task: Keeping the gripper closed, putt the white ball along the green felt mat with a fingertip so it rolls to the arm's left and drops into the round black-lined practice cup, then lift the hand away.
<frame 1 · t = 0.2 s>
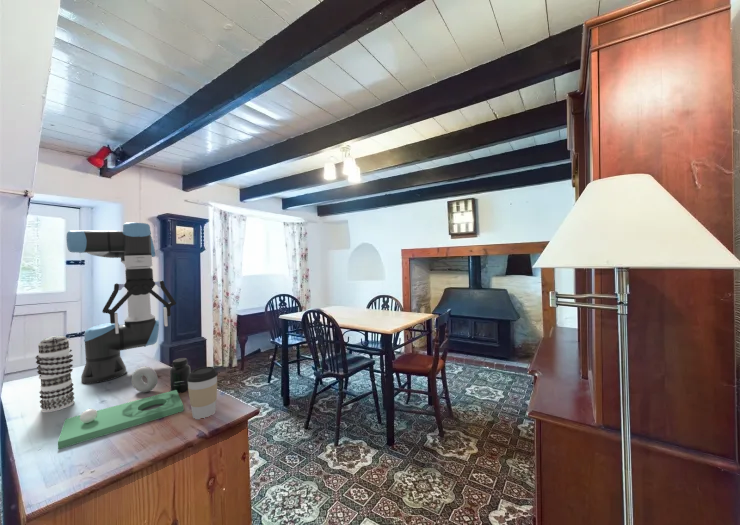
hand: (142, 329, 106), 28 cm above the table, fingers open, 13 cm apart
donut: (145, 392, 119), on the table
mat: (126, 417, 100), on the table
decorative candle: (58, 406, 110), on the table
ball: (88, 415, 94), point 4 cm above the table, touching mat
supplement bottle: (181, 390, 120), on the table
coffee cup: (204, 414, 101), on the table
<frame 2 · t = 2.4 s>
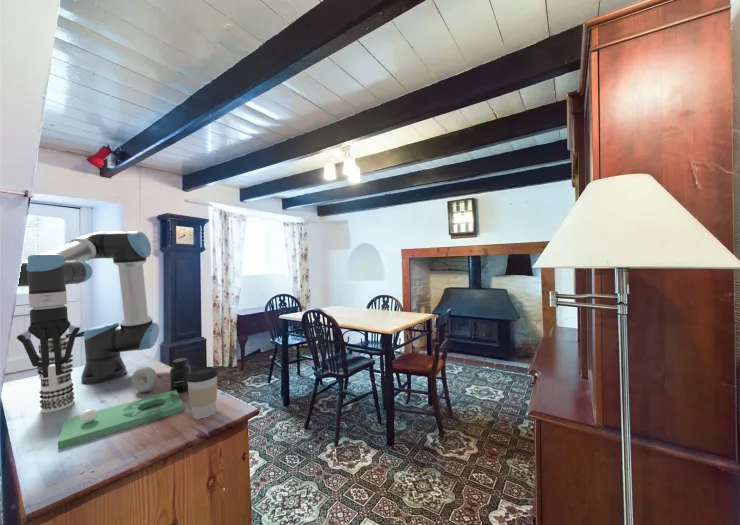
hand: (53, 387, 89), 15 cm above the table, fingers closed
nothing on the table moved.
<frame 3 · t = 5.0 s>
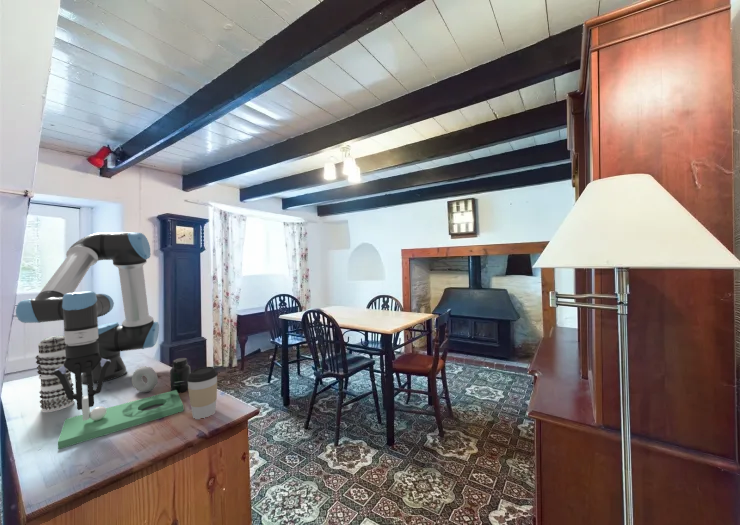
hand: (86, 418, 94), 4 cm above the table, fingers closed
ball: (98, 413, 96), point 4 cm above the table, tilted 54°, touching gripper, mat
everything else where it was.
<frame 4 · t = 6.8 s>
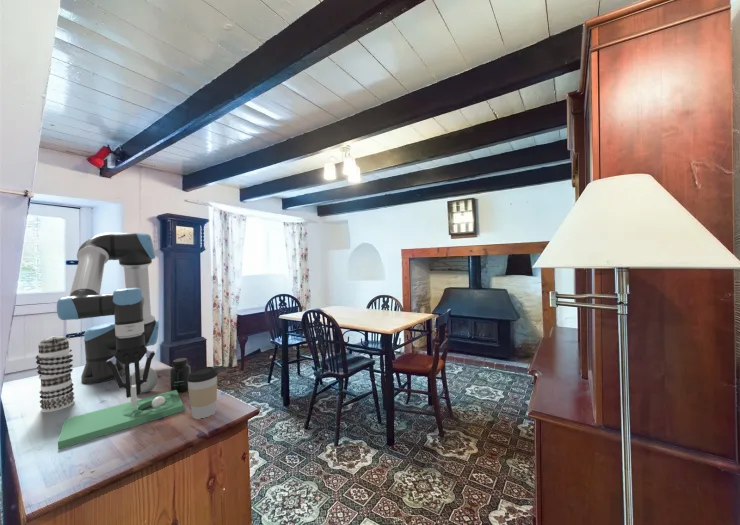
hand: (134, 405, 101), 3 cm above the table, fingers closed
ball: (158, 402, 106), point 2 cm above the table, tilted 133°, touching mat
everything else where it was.
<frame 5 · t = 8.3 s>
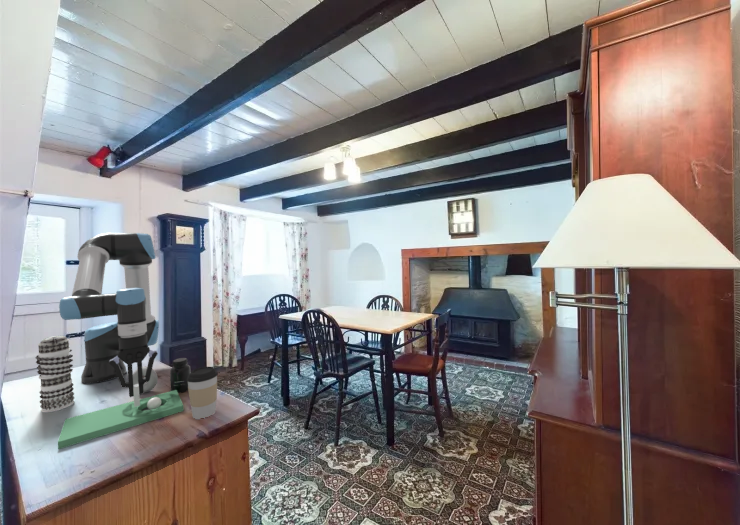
hand: (137, 404, 102), 3 cm above the table, fingers closed
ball: (154, 403, 105), point 2 cm above the table, tilted 98°, touching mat
everything else where it was.
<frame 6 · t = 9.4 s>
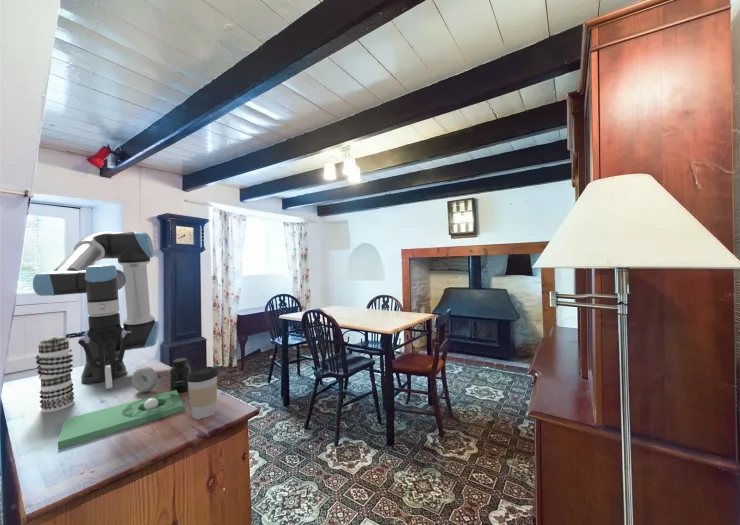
hand: (109, 386, 98), 11 cm above the table, fingers closed
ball: (151, 404, 104), point 2 cm above the table, tilted 72°, touching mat
everything else where it was.
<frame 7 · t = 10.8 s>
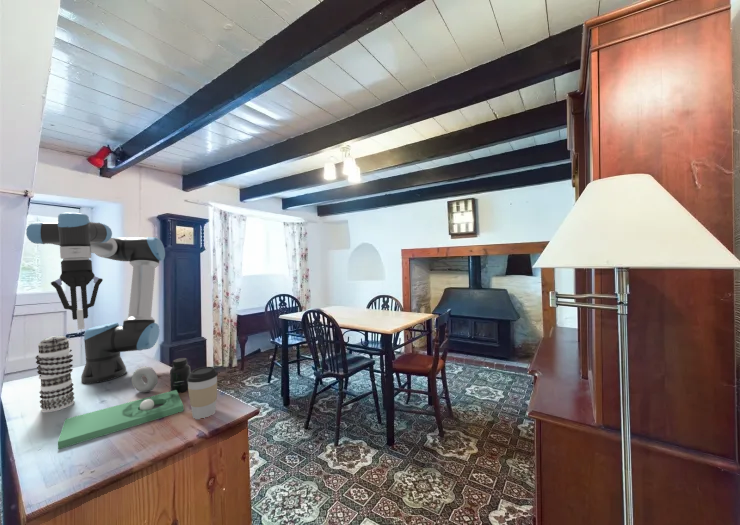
hand: (81, 328, 104), 29 cm above the table, fingers closed
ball: (146, 405, 104), point 2 cm above the table, tilted 39°, touching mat
everything else where it was.
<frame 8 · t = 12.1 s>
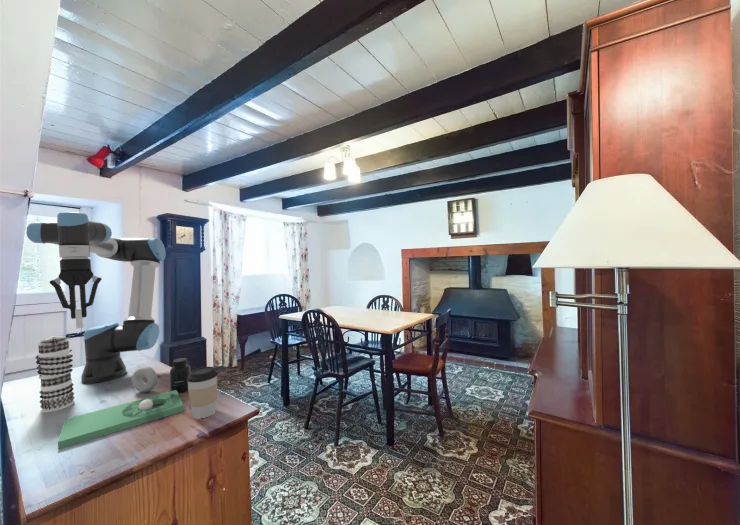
hand: (79, 327, 104), 29 cm above the table, fingers closed
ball: (145, 405, 103), point 2 cm above the table, tilted 30°, touching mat
everything else where it was.
at the end: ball 1.8 cm from the target spot on the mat, point 2.2 cm above the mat's base; the gripper is holding nothing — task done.
